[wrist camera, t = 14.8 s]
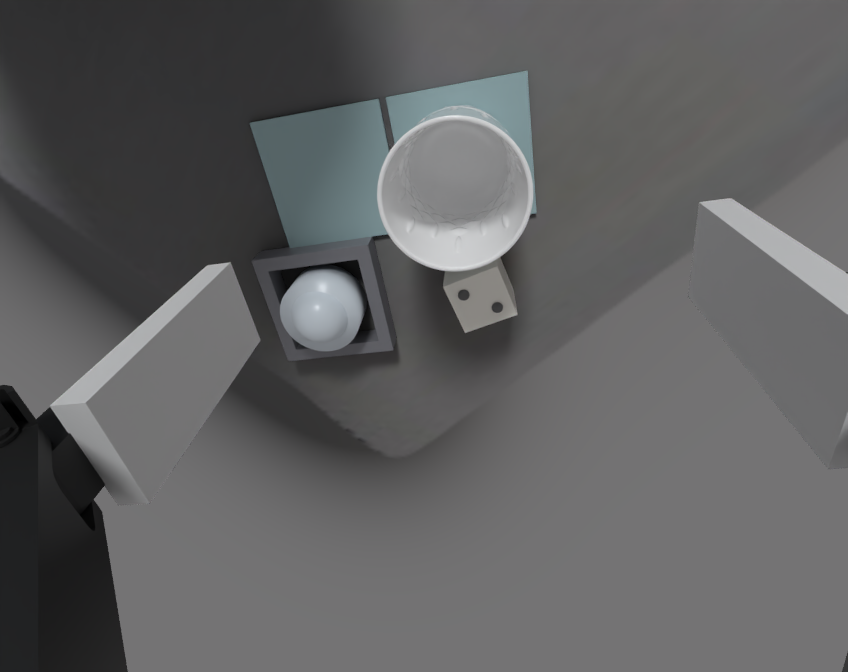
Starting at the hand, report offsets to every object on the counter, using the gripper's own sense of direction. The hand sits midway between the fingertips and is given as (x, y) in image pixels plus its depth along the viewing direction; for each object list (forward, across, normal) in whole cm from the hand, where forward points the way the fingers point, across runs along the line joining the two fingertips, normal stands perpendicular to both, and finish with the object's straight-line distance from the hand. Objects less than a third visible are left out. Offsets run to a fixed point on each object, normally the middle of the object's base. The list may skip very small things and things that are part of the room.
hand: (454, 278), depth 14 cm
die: (+22, 0, -10) cm, 24 cm away
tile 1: (+22, -10, -1) cm, 24 cm away
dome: (+22, -12, -10) cm, 27 cm away
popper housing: (+22, -12, -10) cm, 27 cm away
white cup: (+22, 0, -1) cm, 22 cm away
